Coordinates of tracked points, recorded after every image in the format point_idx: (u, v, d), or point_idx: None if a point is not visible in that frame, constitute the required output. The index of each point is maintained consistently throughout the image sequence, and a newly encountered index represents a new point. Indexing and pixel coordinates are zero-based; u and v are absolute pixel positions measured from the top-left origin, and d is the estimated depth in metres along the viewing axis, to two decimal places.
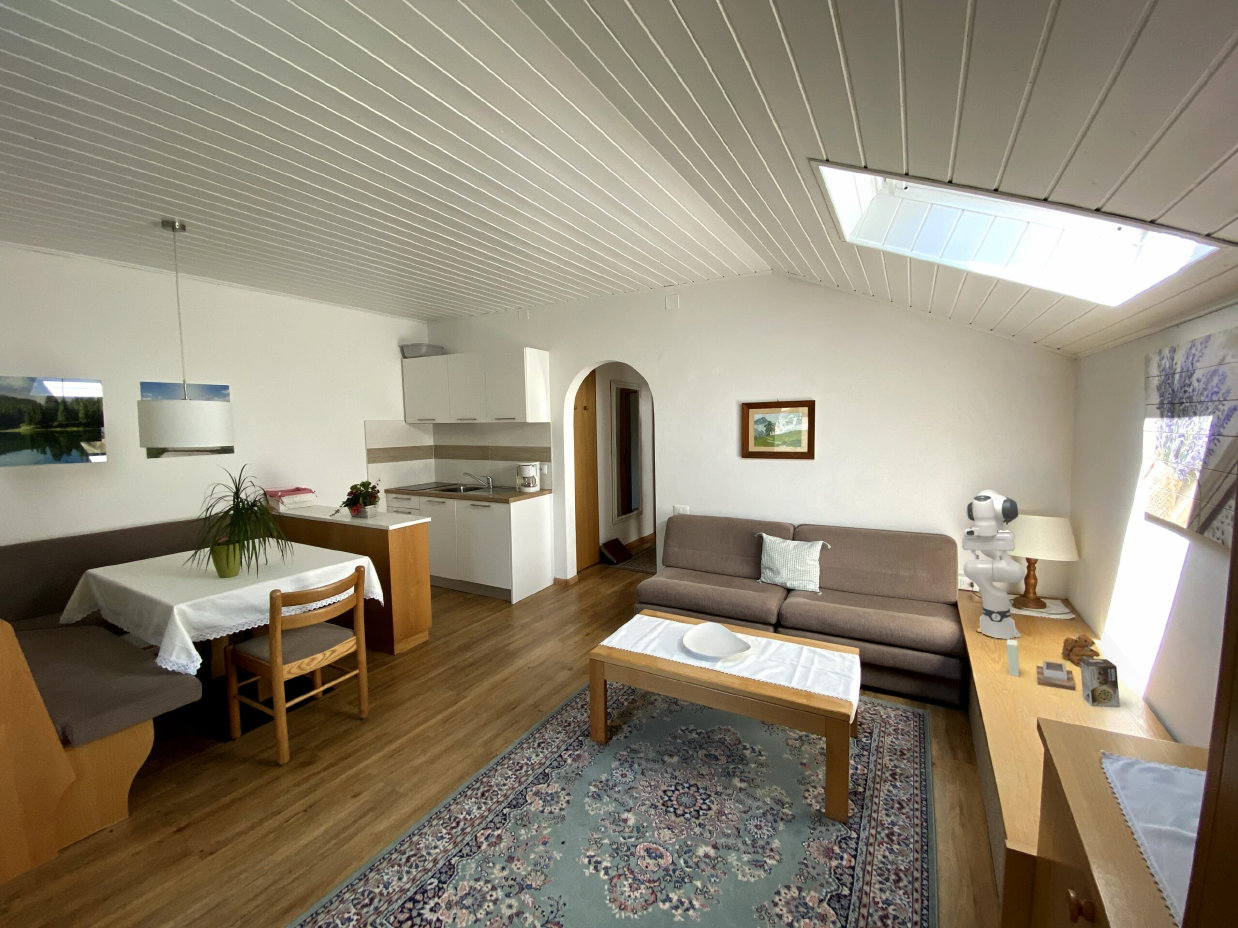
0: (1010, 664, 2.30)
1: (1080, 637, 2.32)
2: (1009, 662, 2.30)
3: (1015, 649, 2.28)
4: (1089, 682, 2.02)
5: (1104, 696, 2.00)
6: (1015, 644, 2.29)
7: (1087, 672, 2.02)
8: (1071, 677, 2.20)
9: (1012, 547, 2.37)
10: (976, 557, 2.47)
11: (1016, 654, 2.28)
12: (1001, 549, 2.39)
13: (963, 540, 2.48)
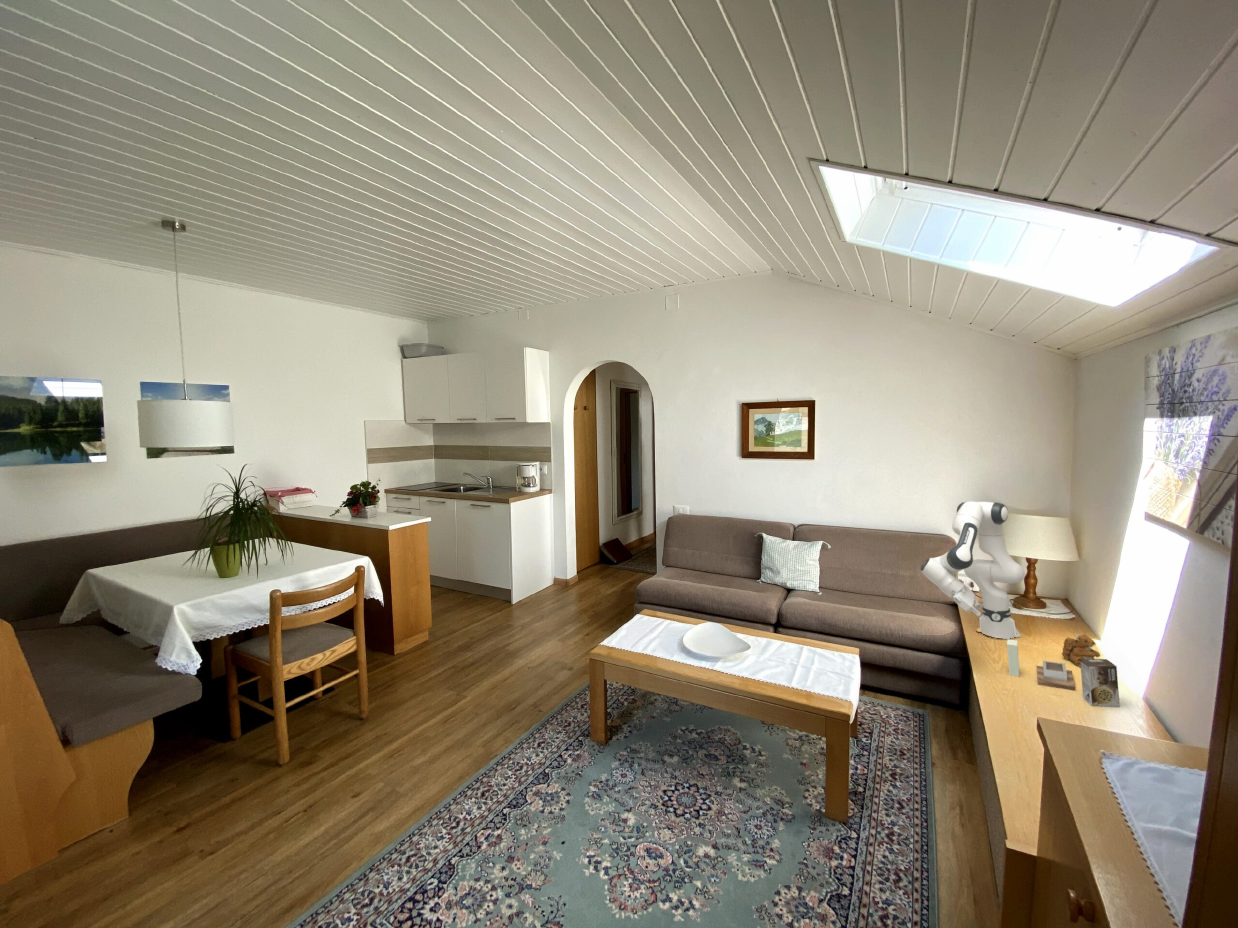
0: (1010, 664, 2.30)
1: (1080, 637, 2.32)
2: (1009, 662, 2.30)
3: (1015, 649, 2.28)
4: (1089, 682, 2.02)
5: (1104, 696, 2.00)
6: (1015, 644, 2.29)
7: (1087, 672, 2.02)
8: (1071, 677, 2.20)
9: (963, 609, 2.33)
10: None
11: (1016, 654, 2.28)
12: None
13: None
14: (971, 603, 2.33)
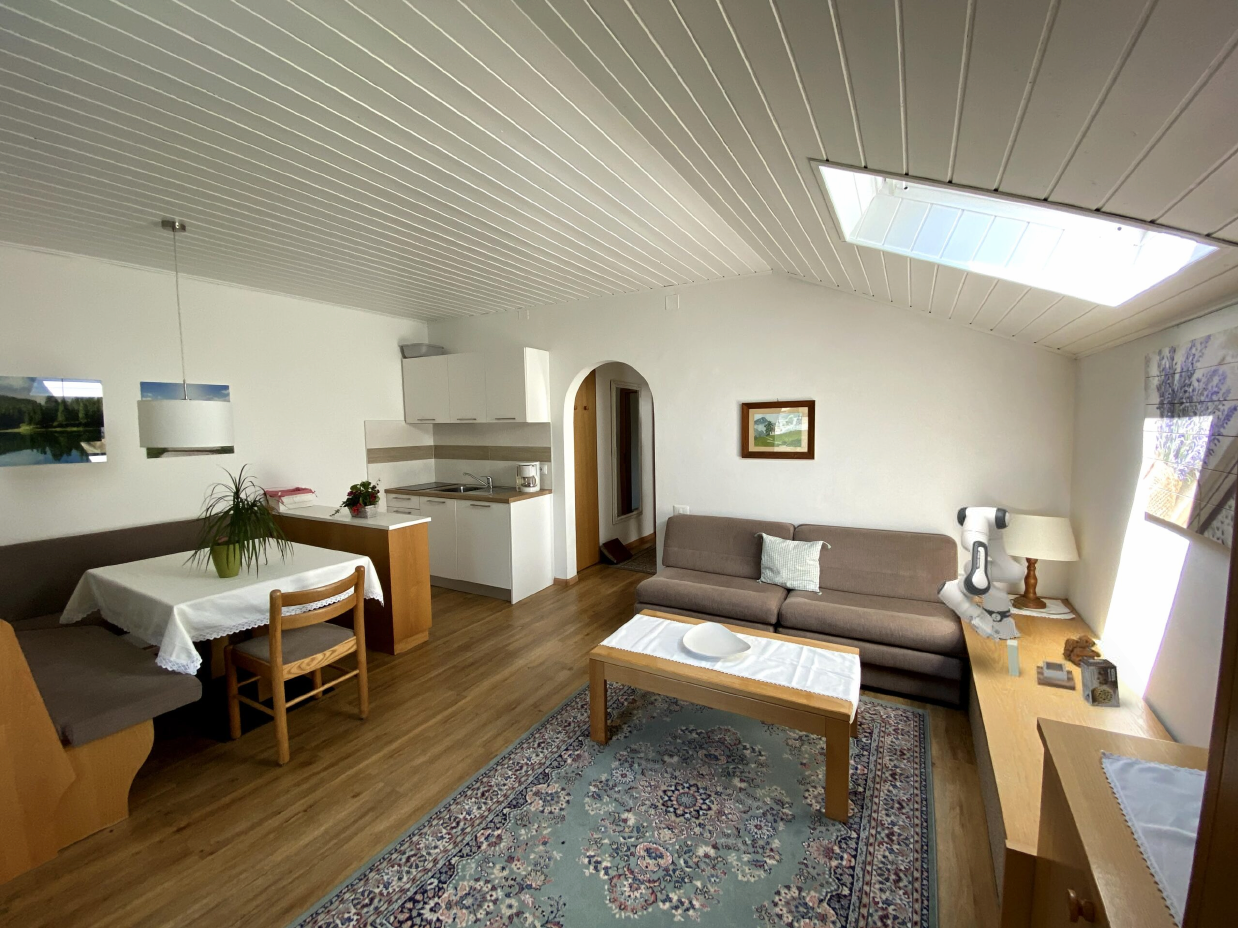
0: (1010, 664, 2.30)
1: (1081, 638, 2.31)
2: (1009, 662, 2.30)
3: (1015, 649, 2.28)
4: (1089, 682, 2.02)
5: (1104, 696, 2.00)
6: (1015, 644, 2.29)
7: (1087, 672, 2.02)
8: (1071, 677, 2.20)
9: None
10: None
11: (1016, 654, 2.28)
12: None
13: None
14: (989, 629, 2.30)
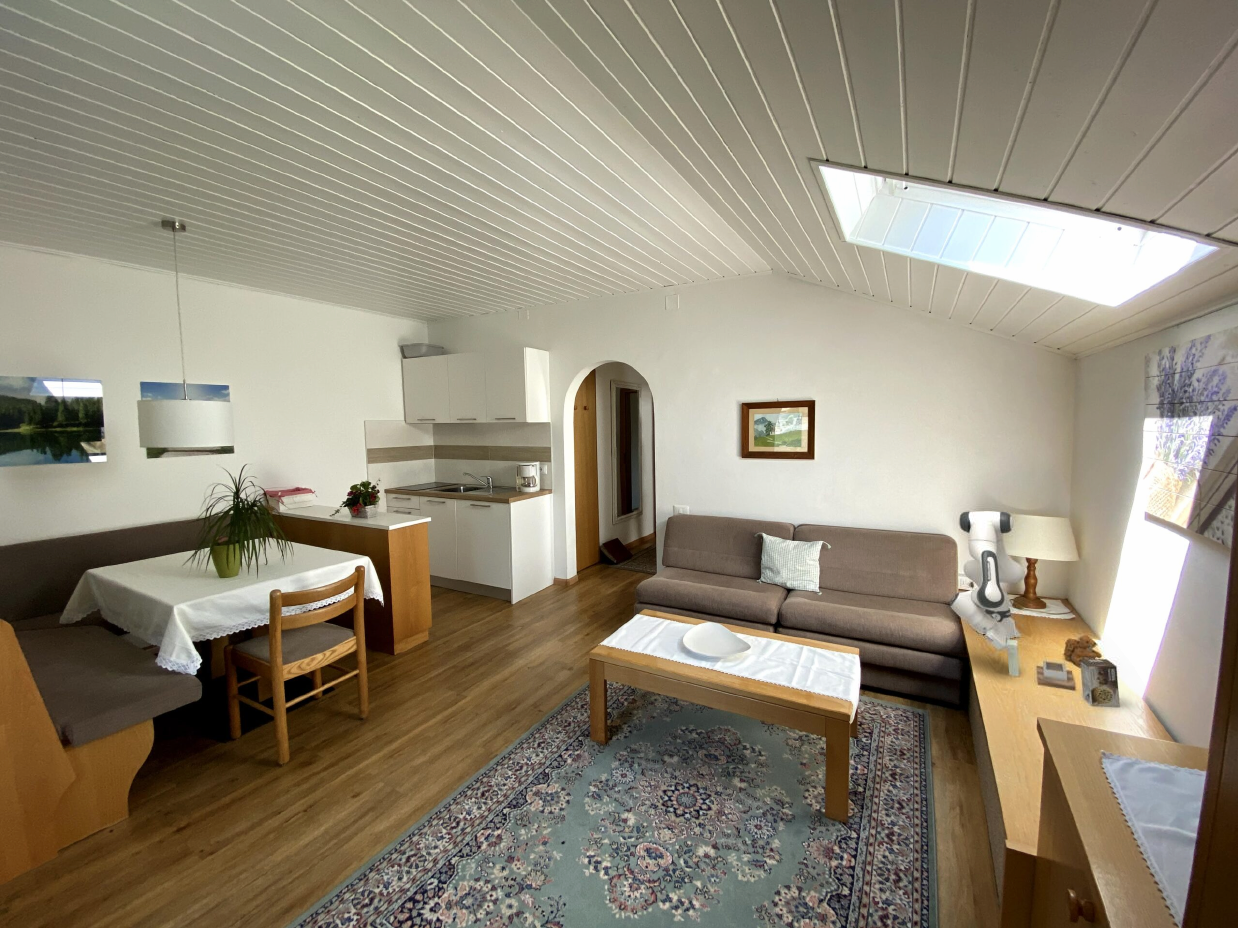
0: (1010, 664, 2.30)
1: (1082, 638, 2.31)
2: (1009, 662, 2.30)
3: (1015, 649, 2.28)
4: (1089, 682, 2.02)
5: (1104, 696, 2.00)
6: (1015, 644, 2.29)
7: (1087, 672, 2.02)
8: (1071, 677, 2.20)
9: None
10: None
11: (1016, 654, 2.28)
12: None
13: None
14: (1003, 641, 2.27)
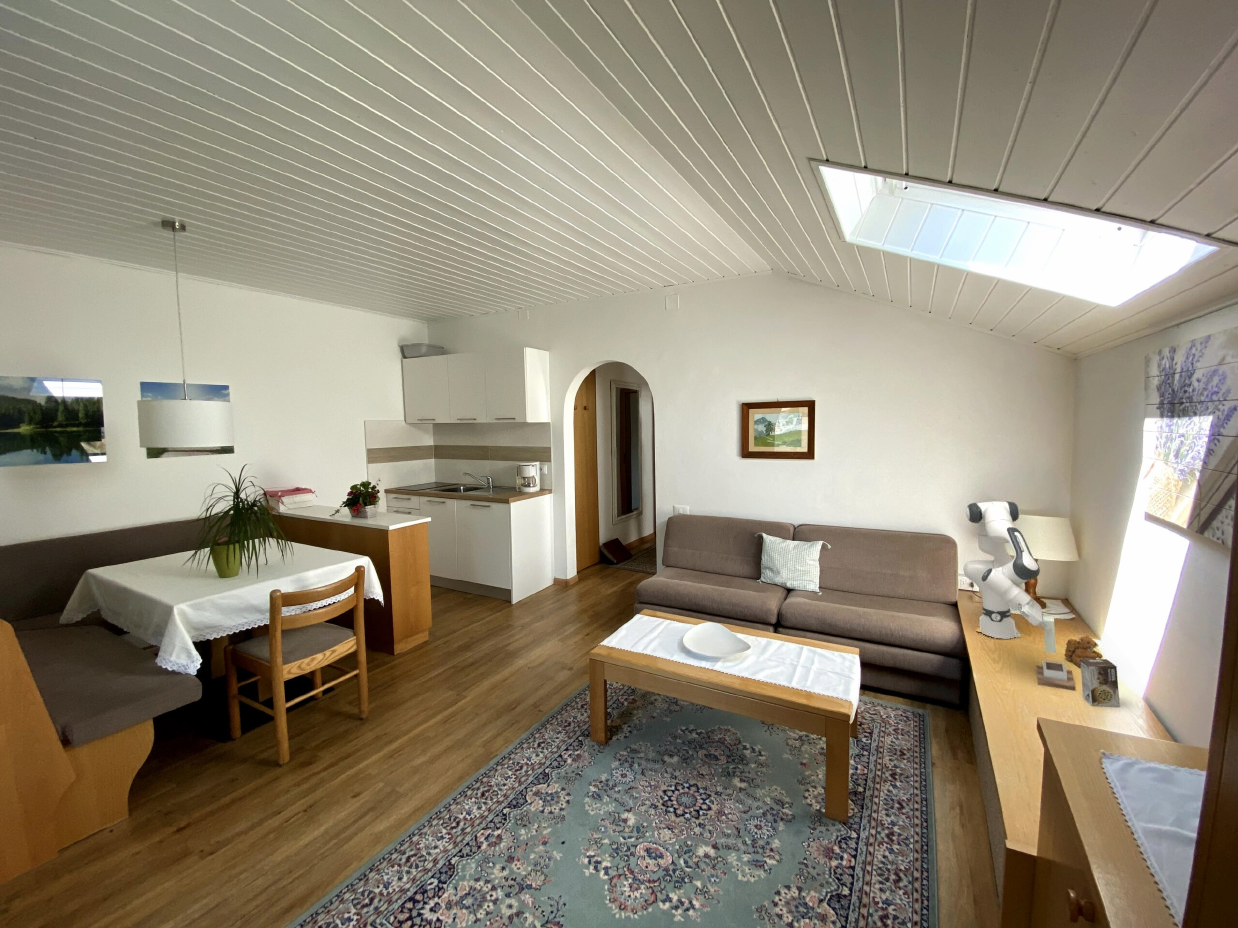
0: (1046, 641, 2.21)
1: (1083, 638, 2.31)
2: (1045, 639, 2.21)
3: (1052, 625, 2.19)
4: (1089, 682, 2.02)
5: (1104, 696, 2.00)
6: (1052, 620, 2.20)
7: (1087, 672, 2.02)
8: (1071, 677, 2.20)
9: (1032, 623, 2.18)
10: None
11: (1053, 630, 2.19)
12: None
13: None
14: (1040, 617, 2.19)
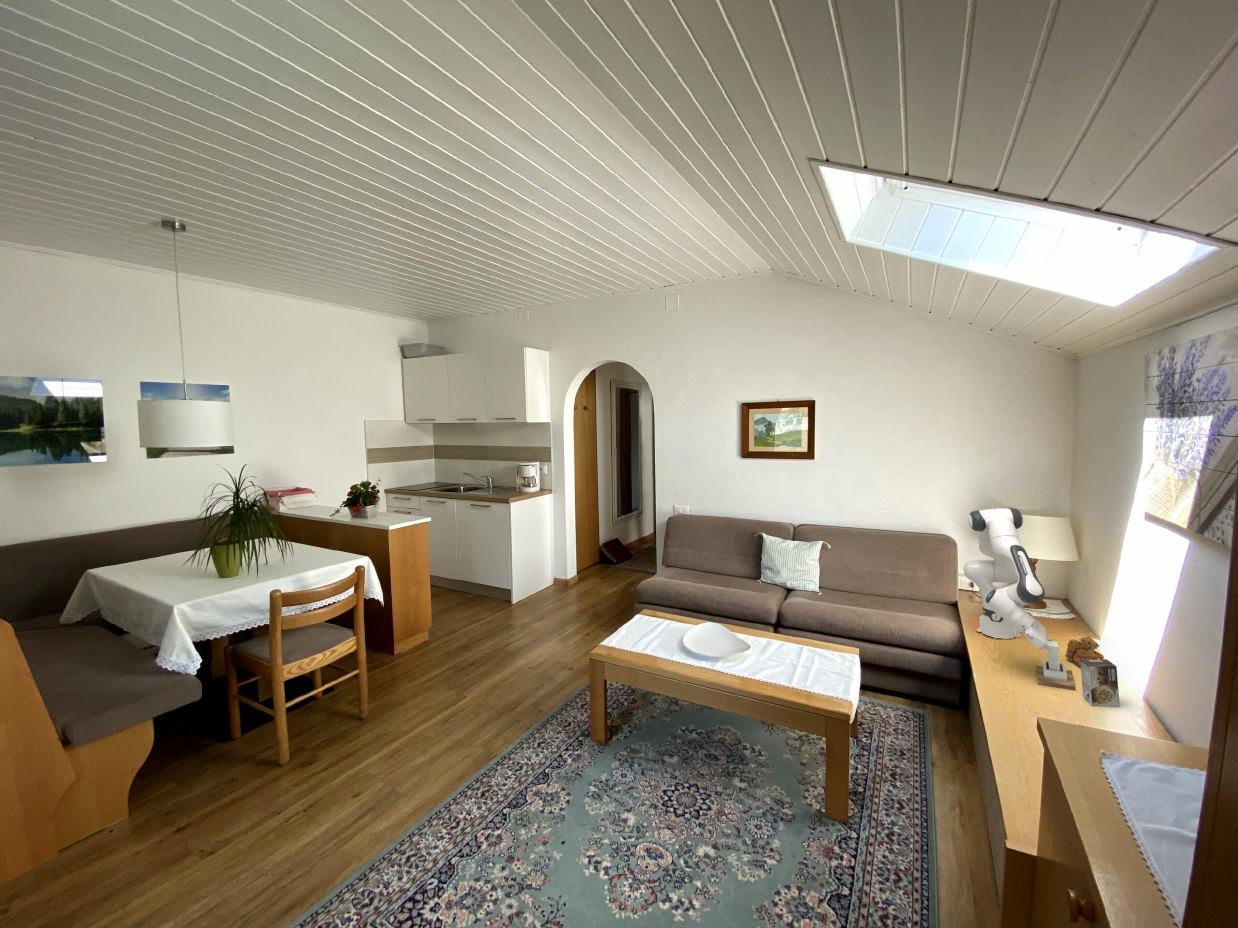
0: (1051, 666, 2.21)
1: (1084, 639, 2.30)
2: (1050, 664, 2.21)
3: (1057, 651, 2.20)
4: (1089, 682, 2.02)
5: (1104, 696, 2.00)
6: (1056, 645, 2.20)
7: (1087, 672, 2.02)
8: (1071, 677, 2.20)
9: (1036, 646, 2.18)
10: None
11: (1057, 656, 2.20)
12: None
13: None
14: (1044, 639, 2.19)
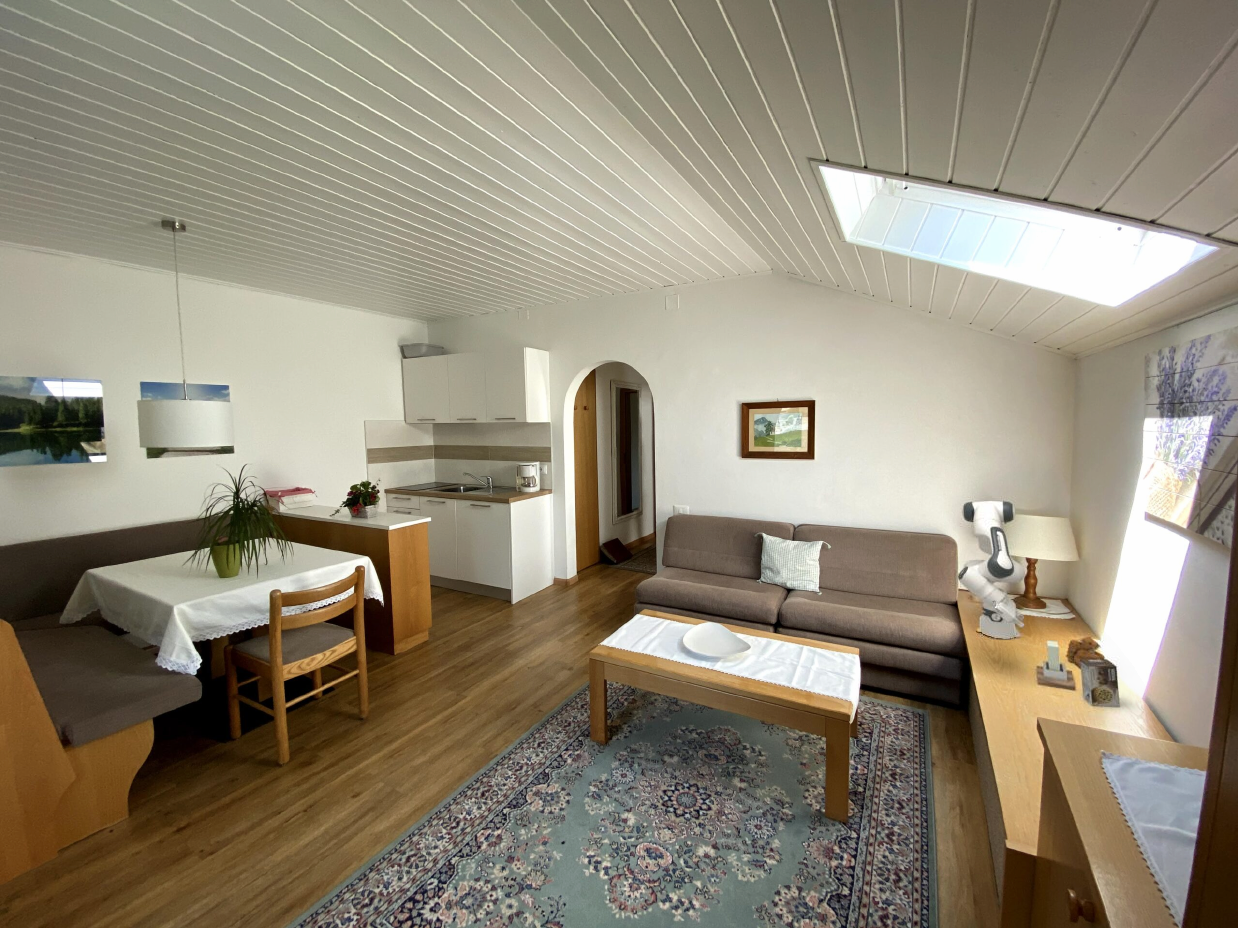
0: (1051, 666, 2.21)
1: (1084, 640, 2.29)
2: (1050, 664, 2.21)
3: (1057, 651, 2.19)
4: (1089, 682, 2.02)
5: (1104, 696, 2.00)
6: (1056, 646, 2.20)
7: (1087, 672, 2.02)
8: (1071, 677, 2.20)
9: (1005, 620, 2.24)
10: None
11: (1057, 656, 2.20)
12: None
13: None
14: (1013, 614, 2.24)
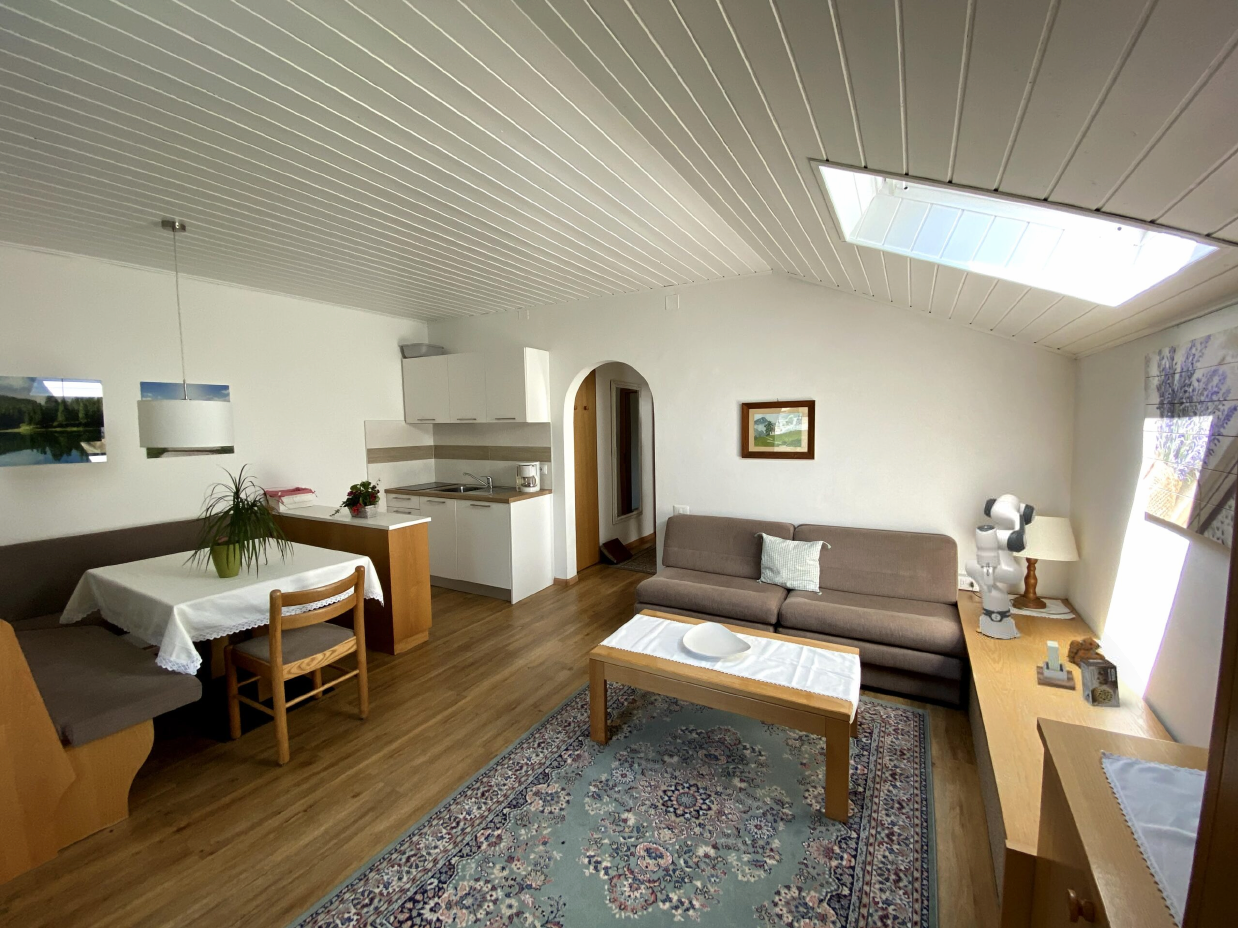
0: (1051, 666, 2.21)
1: (1085, 640, 2.29)
2: (1050, 664, 2.21)
3: (1057, 651, 2.19)
4: (1089, 682, 2.02)
5: (1104, 696, 2.00)
6: (1056, 646, 2.20)
7: (1087, 672, 2.02)
8: (1071, 677, 2.20)
9: (983, 581, 2.36)
10: None
11: (1057, 656, 2.20)
12: None
13: None
14: None
